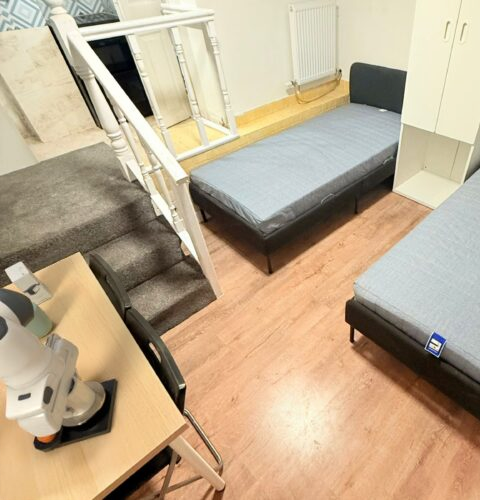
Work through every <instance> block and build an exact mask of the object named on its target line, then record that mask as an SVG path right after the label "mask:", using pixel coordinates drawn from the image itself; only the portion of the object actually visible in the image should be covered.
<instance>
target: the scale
mask: <svg viewBox="0 0 480 500" xmlns="http://www.w3.org/2000/svg"><path fill="white" fill-rule="evenodd" d="M99 383H100V384H101V385H102V386H103V387H104V389H105V400H104V402H103V405H102V406H101V408H100V410H99V411H98V412H97V413H96V414H95V415H94V416H93V417H92V418H91V419H90V420H88V421H87V422H85V423H83V424H81V425H78V426H75V427H66V426H63V425H61V428H60V430H59V431H58V432H57V433H56V436H55V437H54V439H53V440H51V441H50V442H48V443H43V442H41V441H39V440H38V439H37V437H36V436H34V439H33V442H32V443H33V444H32V445H33V447H34V449H35V450H38V451H39V452H43V453H49V452H52V451H54V450H56V449H60V448H63V447H66V446H69V445H74V444H76V443H79V442H83V441H86V440H91V439H94V438H96V437H100V436H103V435H107V434H110V433H111V431H112V425H113V424H112V423H113V416H114V410H115V403H116V397H117V389H118V383H119V381H118V380H117V379H116V378H112V379H108V380H105V381H101V382H99Z"/></svg>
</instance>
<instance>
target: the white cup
mask: <svg viewBox="0 0 480 500" xmlns="http://www.w3.org/2000/svg"><path fill="white" fill-rule="evenodd" d="M67 399H68V400H67V404H66V408H65V409H67V408H70V407H71V408H73V409H74V414H73V416H78V415H81V414H83V413H84V412H86V411H87V410H88V409H89V408H90V407H91V406H92V404H93V402H94V400H95V393H94V391H93V390H91V389H90V388H89V387H88V386H86V385H85V384H84V381H82V380H81V381H80V380H79V379H78V378H77V377H75V376H74V375H73V376H72V383H71V387H70V391H69V394H68V397H67Z"/></svg>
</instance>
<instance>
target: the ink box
mask: <svg viewBox="0 0 480 500" xmlns="http://www.w3.org/2000/svg"><path fill="white" fill-rule="evenodd" d="M4 271H5V273H6V275H7V276H8V278H9V280H10V281H11V283H12V284H14V286H16V287H17V288H18V289H19V291H21V293H22V294H23V295H25V296H27V297H28V298H29V299H30V300H31V302H34V303H35V304H37V305H38V306H39V305H40V304H42V303H44V302H46V301H47V300H49V299H51V298H52V297H53V295H52V293H51V292H50V291H49V290H48V288H47V287H46V286H45V284H44V283H43V282H42V281H41V280H40V279H39V278H38V277H37V276H36V275H35V274H34V273H33V272H32V271H31V270H30V268H28V266H26V265H25V263H24V262H23V261H21V260H20V261H19V262H16V263H13V265H10V266H9V267H7V268H5V269H4Z"/></svg>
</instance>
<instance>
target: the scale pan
mask: <svg viewBox="0 0 480 500" xmlns="http://www.w3.org/2000/svg"><path fill="white" fill-rule="evenodd" d="M83 383H84V384H85V385H86V386H88V387H89V388H90V389H91V390H93V391H94V393H95V400H94V402H93V404H92V406H91V407H90V408H89V409H88V410H87V411H86V412H84V413H83V414H81V415H78V416H73V417H70V418H63V420H62V424H61V425H63V426H66V427H75V426H78V425H81V424H83V423H85V422H87V421H88V420H90V419H91V418H92V417H93V416H94V415H95V414H96V413H97V412H98V411H99V410H100V408H101V406H102V405H103V402H104V400H105V389H104V387H103V386H102V385H101V384H100V382H98V381H95V380H88V381H83Z"/></svg>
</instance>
